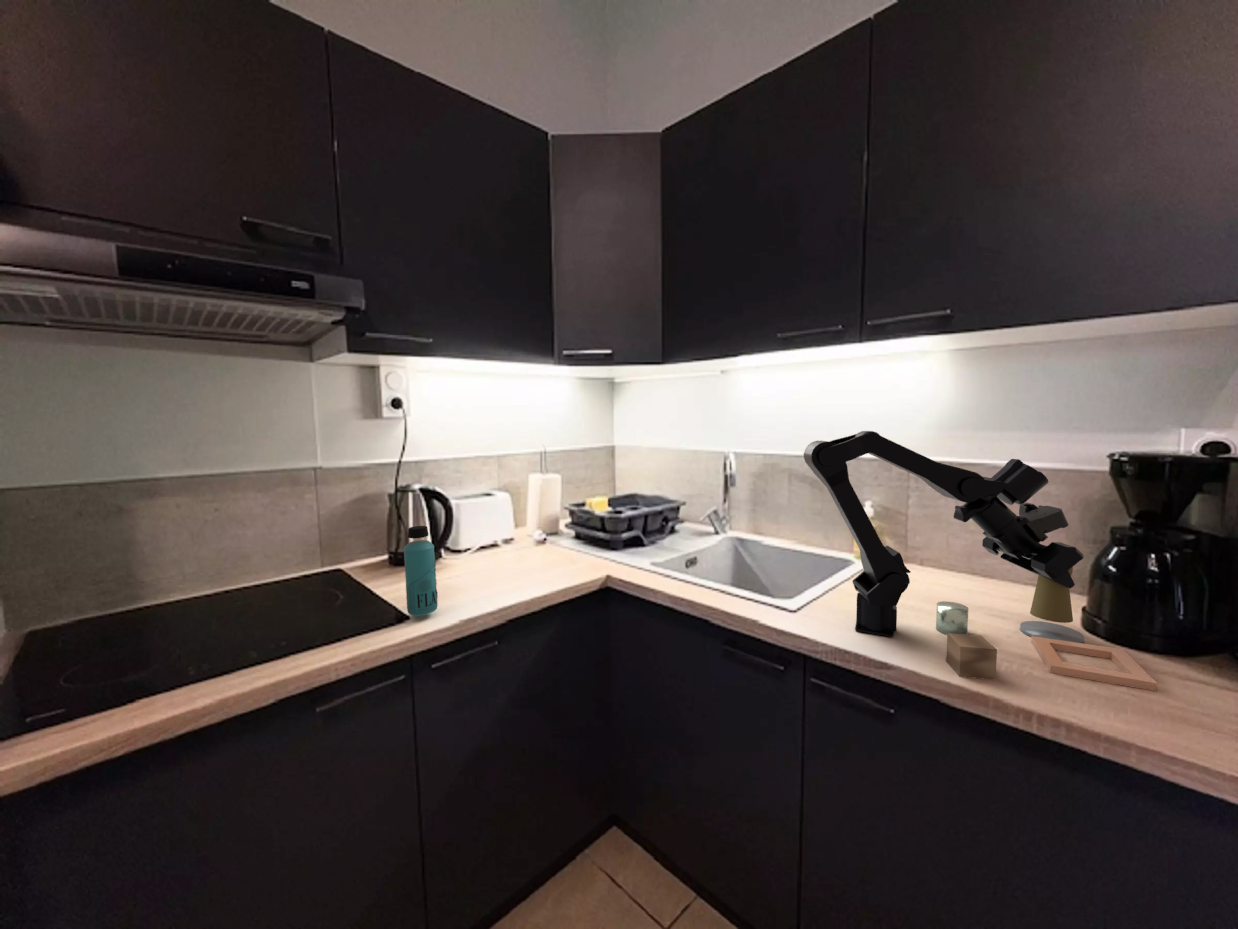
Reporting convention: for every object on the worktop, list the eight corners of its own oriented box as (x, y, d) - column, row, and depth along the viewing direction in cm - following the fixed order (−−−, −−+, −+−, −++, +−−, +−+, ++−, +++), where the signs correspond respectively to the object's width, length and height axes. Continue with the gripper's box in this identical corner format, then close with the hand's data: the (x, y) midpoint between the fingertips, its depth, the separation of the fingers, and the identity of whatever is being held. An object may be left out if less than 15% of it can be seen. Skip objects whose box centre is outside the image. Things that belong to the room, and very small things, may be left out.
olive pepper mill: (1021, 610, 93) (1024, 554, 93) (1051, 609, 94) (1055, 553, 93) (1050, 623, 87) (1053, 563, 87) (1082, 622, 88) (1086, 562, 87)
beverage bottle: (415, 625, 102) (409, 531, 101) (401, 617, 107) (396, 527, 105) (444, 615, 107) (439, 526, 105) (430, 608, 111) (425, 522, 110)
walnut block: (959, 676, 77) (960, 646, 77) (946, 661, 82) (947, 633, 82) (995, 680, 76) (997, 649, 76) (980, 664, 81) (981, 635, 80)
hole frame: (1050, 672, 78) (1050, 665, 77) (1031, 642, 88) (1031, 636, 88) (1156, 691, 72) (1156, 683, 72) (1122, 656, 82) (1122, 649, 82)
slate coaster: (1026, 639, 89) (1026, 635, 89) (1014, 621, 97) (1015, 617, 97) (1092, 649, 85) (1092, 645, 85) (1074, 630, 93) (1075, 626, 93)
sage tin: (937, 634, 92) (937, 608, 92) (934, 624, 97) (935, 599, 96) (969, 639, 90) (970, 613, 90) (965, 628, 94) (966, 603, 94)
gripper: (1074, 499, 80) (1145, 567, 79) (1001, 485, 98) (1059, 540, 98) (1018, 545, 82) (1087, 612, 81) (957, 523, 100) (1013, 577, 100)
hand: (1060, 581), depth 90 cm, fingers closed on olive pepper mill, 5 cm apart
